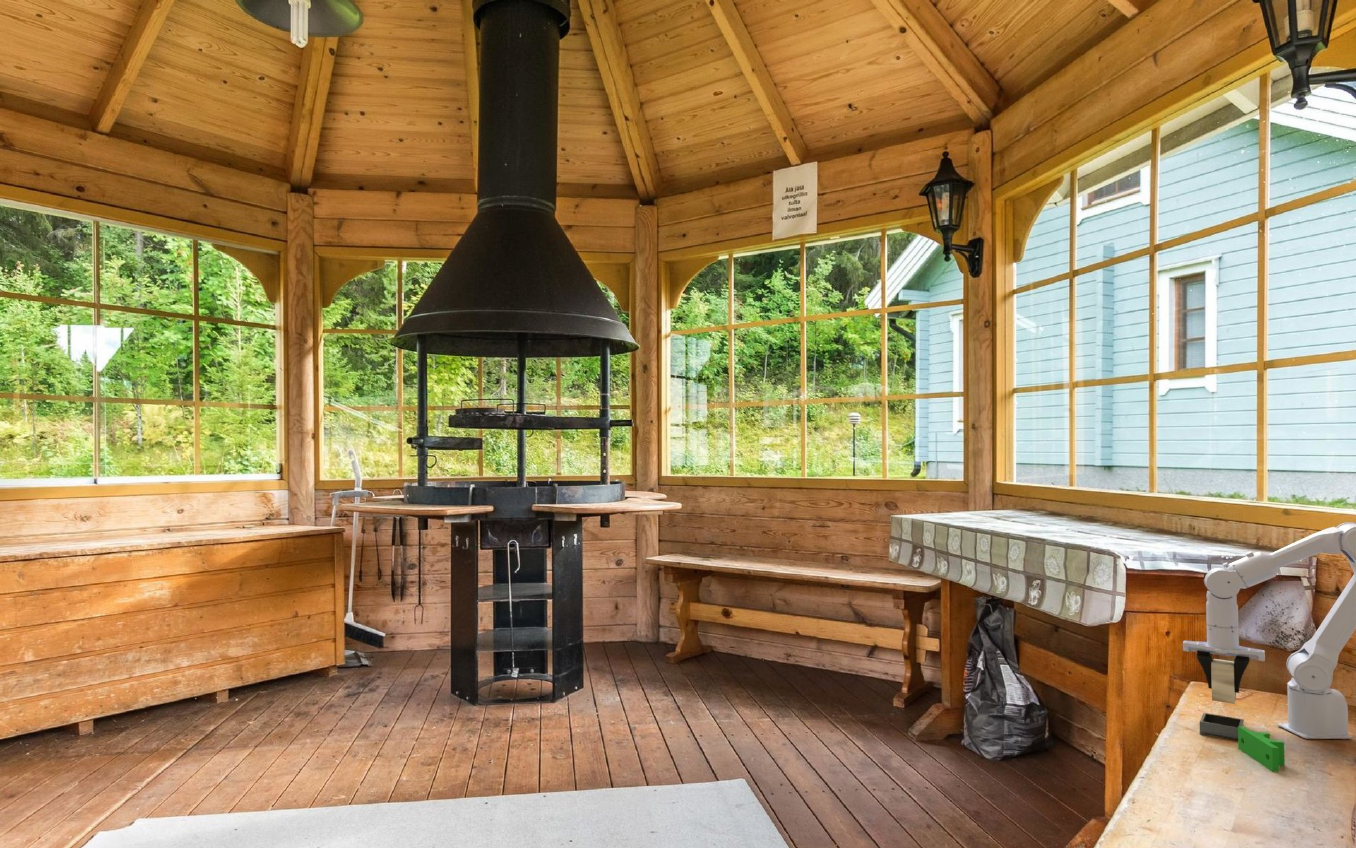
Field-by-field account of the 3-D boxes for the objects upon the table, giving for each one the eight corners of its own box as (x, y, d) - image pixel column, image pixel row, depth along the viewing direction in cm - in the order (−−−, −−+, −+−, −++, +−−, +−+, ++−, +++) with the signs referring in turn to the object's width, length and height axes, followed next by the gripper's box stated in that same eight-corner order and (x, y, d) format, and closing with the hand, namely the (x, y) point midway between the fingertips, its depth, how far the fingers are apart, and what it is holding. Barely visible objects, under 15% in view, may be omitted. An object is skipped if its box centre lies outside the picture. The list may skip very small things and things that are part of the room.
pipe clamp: (1294, 774, 149) (1294, 748, 149) (1272, 773, 149) (1272, 747, 149) (1258, 750, 160) (1258, 726, 160) (1238, 749, 160) (1237, 725, 161)
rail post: (1213, 695, 179) (1213, 658, 179) (1236, 699, 176) (1235, 661, 177) (1211, 700, 176) (1211, 662, 176) (1234, 704, 173) (1233, 665, 174)
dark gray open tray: (1203, 724, 174) (1203, 712, 174) (1243, 731, 170) (1243, 719, 170) (1199, 734, 169) (1199, 721, 169) (1241, 741, 164) (1241, 728, 164)
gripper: (1180, 624, 178) (1181, 687, 178) (1262, 633, 169) (1264, 700, 169) (1184, 618, 183) (1186, 680, 183) (1264, 627, 174) (1266, 692, 174)
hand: (1223, 689), depth 176 cm, fingers closed on rail post, 4 cm apart
